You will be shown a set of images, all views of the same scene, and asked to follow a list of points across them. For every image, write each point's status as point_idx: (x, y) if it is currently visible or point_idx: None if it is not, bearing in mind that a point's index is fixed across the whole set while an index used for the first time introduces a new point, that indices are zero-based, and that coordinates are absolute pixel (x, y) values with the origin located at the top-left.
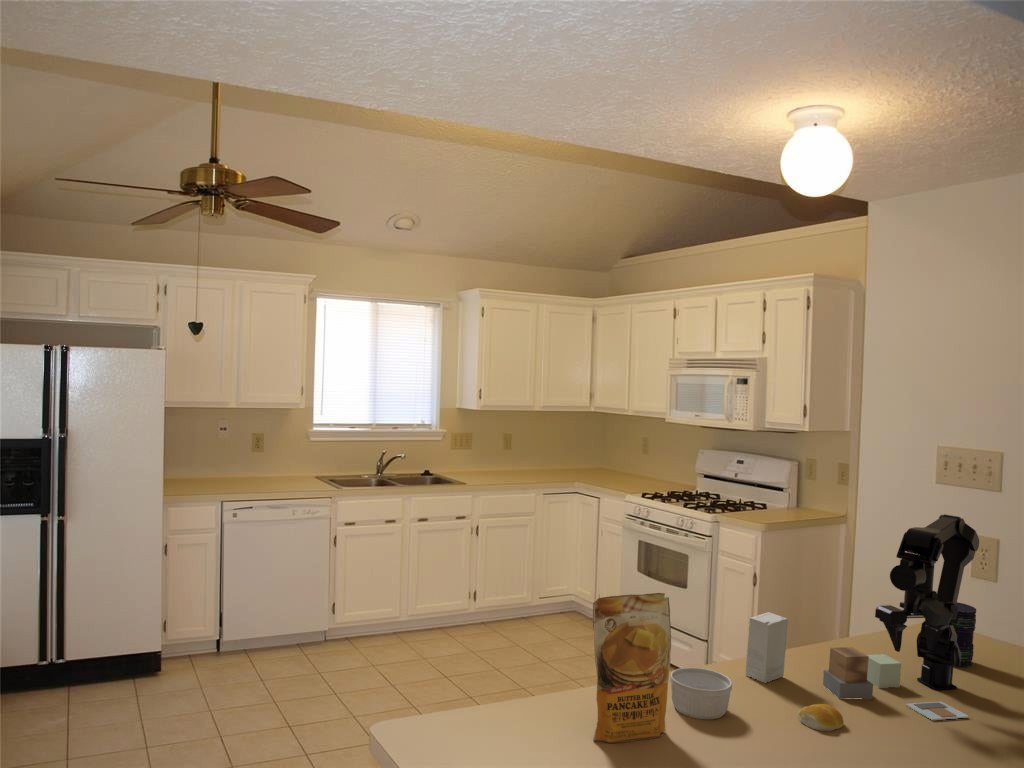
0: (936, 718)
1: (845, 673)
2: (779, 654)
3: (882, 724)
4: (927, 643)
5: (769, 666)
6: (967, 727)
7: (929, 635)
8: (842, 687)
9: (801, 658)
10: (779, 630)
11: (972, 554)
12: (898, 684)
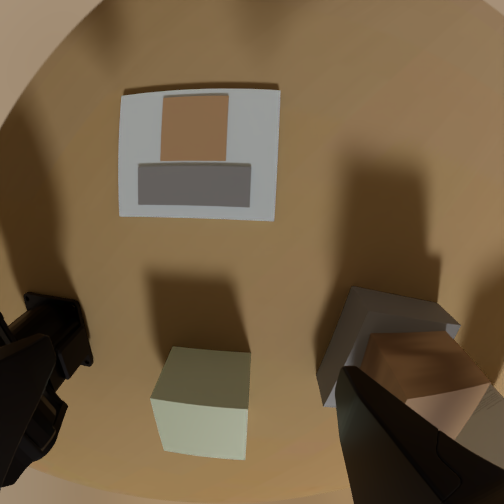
0: (259, 91)
1: (459, 347)
2: (480, 437)
3: (455, 128)
4: (42, 387)
5: (499, 405)
6: (189, 40)
7: (4, 419)
8: (449, 317)
9: (303, 480)
10: None
11: None
12: (175, 351)
